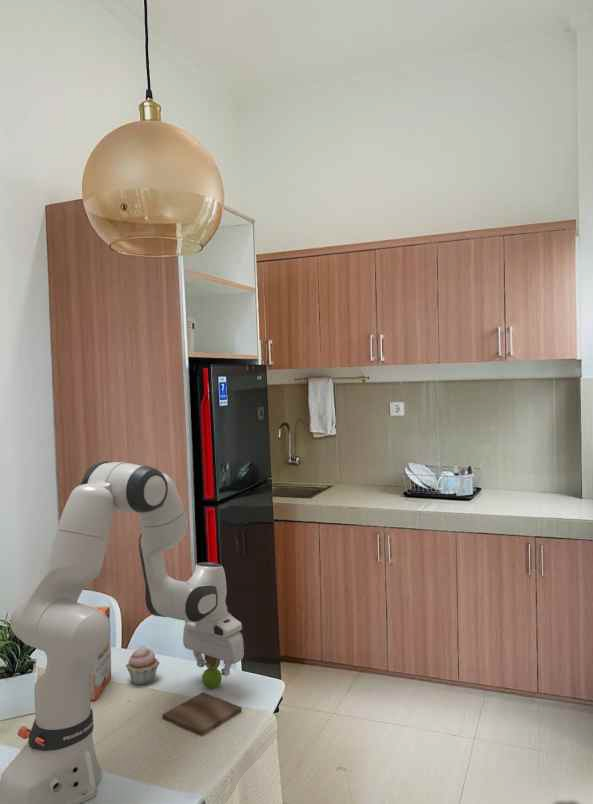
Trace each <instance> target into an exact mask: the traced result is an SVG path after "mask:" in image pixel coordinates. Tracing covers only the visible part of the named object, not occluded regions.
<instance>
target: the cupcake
mask: <svg viewBox="0 0 593 804" xmlns="http://www.w3.org/2000/svg"><path fill="white" fill-rule="evenodd" d="M155 655H156V654H155V653H154V651H153V650H152V649H150V648H147V647H146V646H144V645H142V644H141V645H140V647H139V648H138V649H136V650H134V651H133V652H132V654H131V656H130V657H129V659H128V662H127V663H126V664H125V667H126V670H127V671H128V673H129V676H130V680H131V682H132V683H133V685H136V686H144V685H145V686H146V685H148V684H151V683H152V682H154V681H155V678H156V673H157V669H158V667H159V665H160V661H159V659H158V658H156V656H155Z"/></svg>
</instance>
